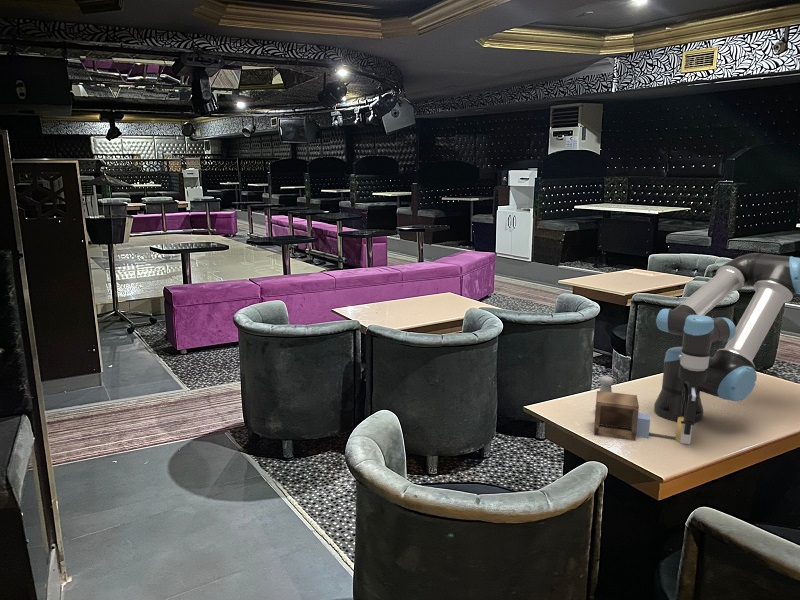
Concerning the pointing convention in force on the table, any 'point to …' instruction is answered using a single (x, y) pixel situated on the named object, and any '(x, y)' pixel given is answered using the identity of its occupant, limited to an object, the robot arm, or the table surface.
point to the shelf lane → (616, 415)
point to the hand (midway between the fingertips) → (684, 440)
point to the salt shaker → (606, 383)
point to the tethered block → (644, 426)
